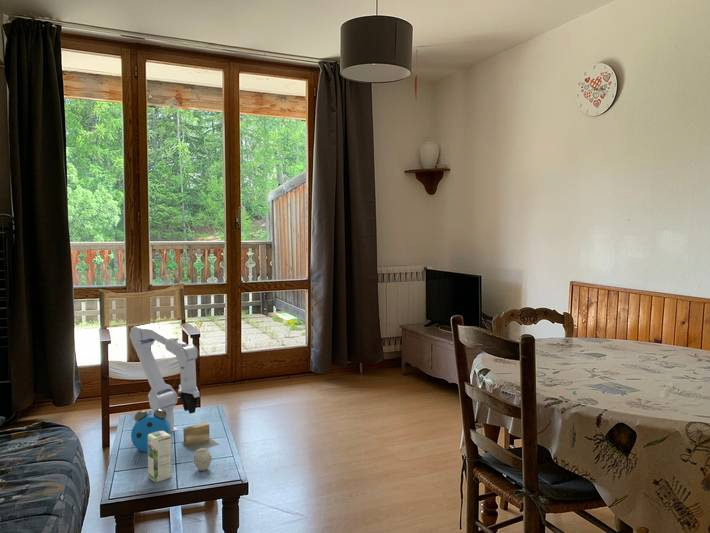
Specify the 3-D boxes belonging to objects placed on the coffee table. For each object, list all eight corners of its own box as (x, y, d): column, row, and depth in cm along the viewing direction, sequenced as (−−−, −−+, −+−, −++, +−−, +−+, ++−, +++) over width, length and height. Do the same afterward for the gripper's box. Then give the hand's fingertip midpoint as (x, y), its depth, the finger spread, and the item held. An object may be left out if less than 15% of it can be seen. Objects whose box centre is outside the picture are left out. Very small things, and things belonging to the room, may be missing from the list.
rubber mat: (180, 443, 203) (180, 442, 203) (205, 436, 209) (205, 435, 209) (193, 453, 194) (193, 452, 194) (219, 445, 201) (219, 444, 201)
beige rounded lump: (209, 463, 185) (209, 444, 185) (214, 471, 179) (214, 451, 179) (191, 467, 182) (190, 447, 182) (196, 475, 176) (195, 455, 176)
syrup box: (147, 477, 175) (146, 434, 174) (165, 471, 179) (163, 429, 178) (155, 483, 171) (153, 439, 170) (172, 477, 175) (171, 434, 174)
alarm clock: (171, 444, 201) (170, 405, 200) (169, 451, 195) (168, 411, 194) (134, 448, 199) (133, 408, 198) (131, 454, 193) (129, 414, 192)
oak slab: (183, 443, 202) (183, 427, 201) (206, 437, 208) (205, 422, 207) (187, 445, 199) (186, 430, 199) (209, 439, 205) (209, 424, 205)
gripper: (170, 375, 209) (172, 409, 210) (186, 382, 199) (187, 418, 199) (187, 372, 214) (189, 405, 215) (204, 379, 203) (205, 414, 204)
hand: (189, 411), depth 207 cm, fingers open, 4 cm apart
